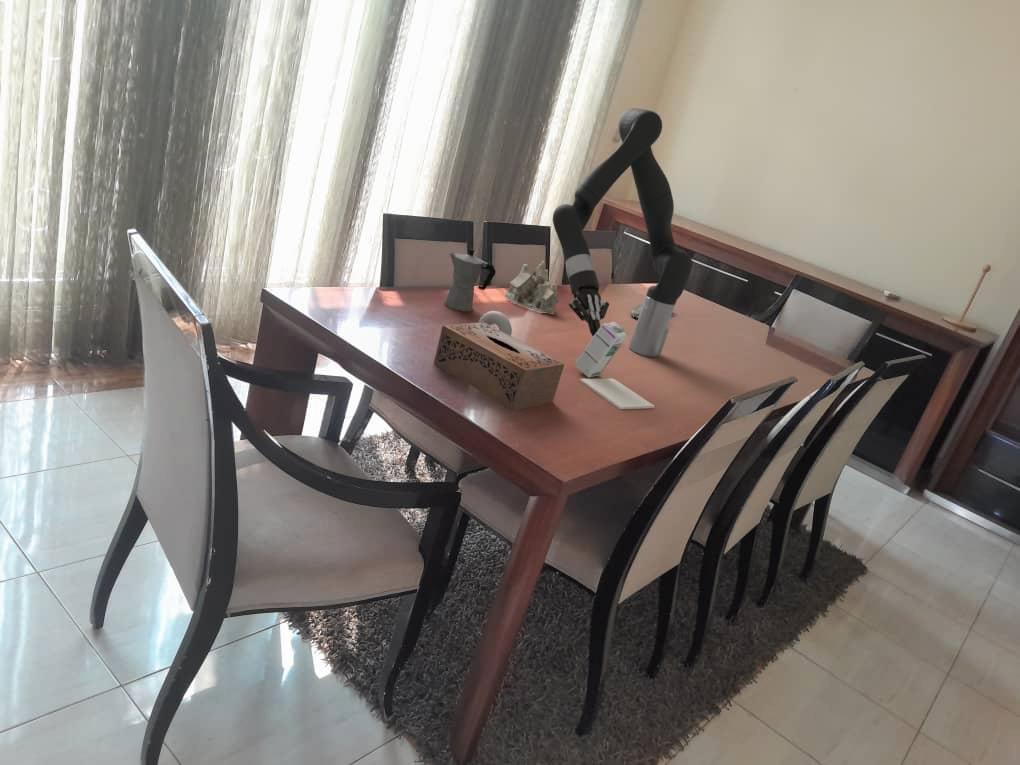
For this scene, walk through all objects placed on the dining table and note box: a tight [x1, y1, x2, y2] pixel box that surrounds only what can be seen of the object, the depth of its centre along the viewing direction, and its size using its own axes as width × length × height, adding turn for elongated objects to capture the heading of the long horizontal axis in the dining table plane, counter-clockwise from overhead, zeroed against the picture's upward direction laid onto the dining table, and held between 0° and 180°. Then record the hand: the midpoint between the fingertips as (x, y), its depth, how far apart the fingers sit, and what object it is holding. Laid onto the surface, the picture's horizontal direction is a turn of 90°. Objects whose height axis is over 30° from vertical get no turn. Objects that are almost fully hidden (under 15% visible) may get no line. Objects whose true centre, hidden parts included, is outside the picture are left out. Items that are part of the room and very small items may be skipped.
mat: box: [579, 378, 655, 410], centre depth 189 cm, size 16×12×1 cm
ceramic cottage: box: [504, 260, 559, 313], centre depth 246 cm, size 16×16×15 cm
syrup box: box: [574, 321, 629, 379], centre depth 194 cm, size 6×6×14 cm
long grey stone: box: [630, 303, 643, 319], centre depth 283 cm, size 35×5×10 cm
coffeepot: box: [443, 248, 497, 312], centre depth 222 cm, size 15×9×18 cm, turn 70°
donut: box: [478, 310, 513, 336], centre depth 195 cm, size 10×4×10 cm, turn 60°
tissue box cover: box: [433, 321, 565, 412], centre depth 172 cm, size 26×14×10 cm, turn 50°
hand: (596, 334), depth 194 cm, fingers closed
